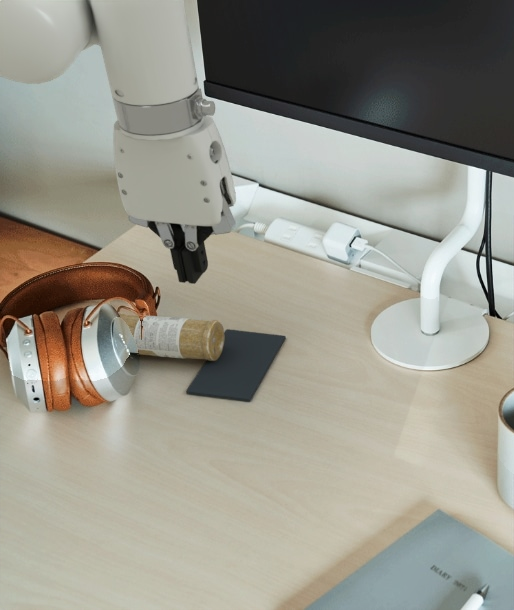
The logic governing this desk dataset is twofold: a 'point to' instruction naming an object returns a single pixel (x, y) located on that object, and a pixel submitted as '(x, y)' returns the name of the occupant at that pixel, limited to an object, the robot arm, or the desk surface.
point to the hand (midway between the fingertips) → (193, 275)
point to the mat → (237, 366)
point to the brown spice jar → (177, 337)
